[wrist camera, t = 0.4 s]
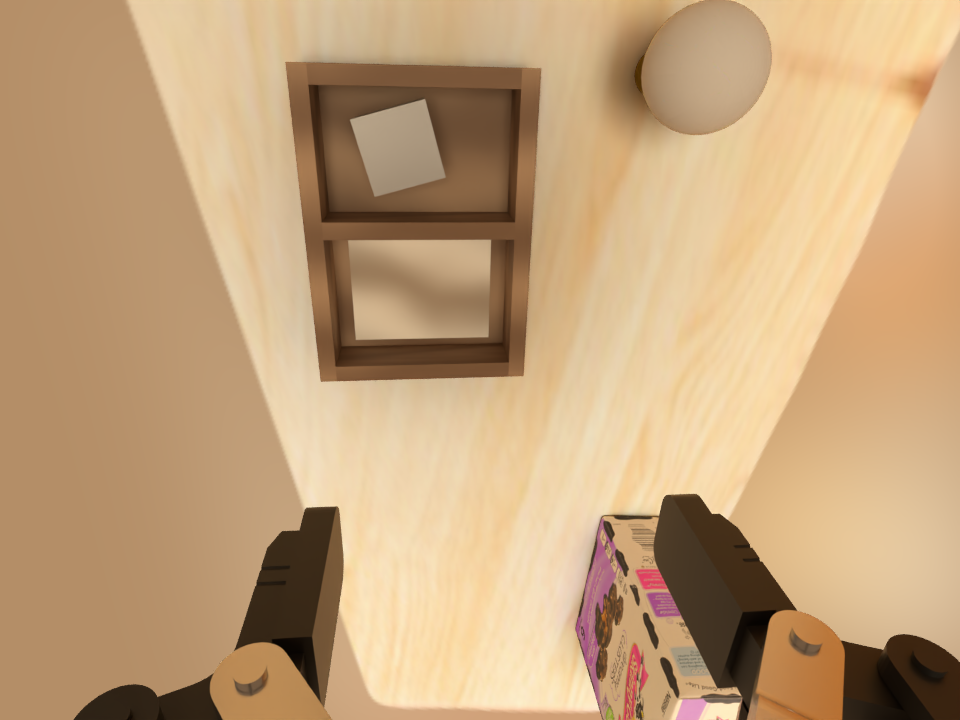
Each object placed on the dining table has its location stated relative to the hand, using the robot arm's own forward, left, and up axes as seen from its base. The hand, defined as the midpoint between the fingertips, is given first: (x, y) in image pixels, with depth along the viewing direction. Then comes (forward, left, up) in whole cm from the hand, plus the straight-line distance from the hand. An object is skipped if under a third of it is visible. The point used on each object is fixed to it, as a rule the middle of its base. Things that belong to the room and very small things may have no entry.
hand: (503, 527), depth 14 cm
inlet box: (-2, -2, -26) cm, 26 cm away
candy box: (+30, +15, -27) cm, 43 cm away
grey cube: (-7, -3, -26) cm, 27 cm away
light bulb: (-11, +12, -27) cm, 31 cm away
